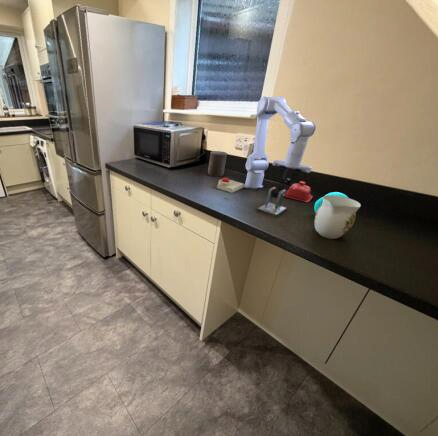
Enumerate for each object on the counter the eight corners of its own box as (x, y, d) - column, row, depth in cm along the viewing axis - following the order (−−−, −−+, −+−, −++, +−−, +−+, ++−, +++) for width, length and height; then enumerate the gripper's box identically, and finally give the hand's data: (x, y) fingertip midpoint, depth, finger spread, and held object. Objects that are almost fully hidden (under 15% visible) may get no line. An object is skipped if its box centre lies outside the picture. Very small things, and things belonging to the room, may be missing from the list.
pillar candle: (217, 178, 141) (221, 153, 134) (204, 174, 148) (207, 150, 141) (226, 175, 146) (230, 150, 139) (213, 171, 153) (217, 148, 146)
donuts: (309, 215, 98) (317, 193, 93) (318, 209, 104) (327, 188, 99) (337, 225, 91) (347, 202, 86) (345, 218, 97) (356, 195, 92)
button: (224, 180, 126) (224, 177, 126) (229, 181, 124) (230, 178, 123) (220, 181, 124) (220, 178, 124) (226, 183, 122) (226, 180, 121)
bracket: (267, 204, 108) (273, 184, 103) (285, 210, 102) (292, 189, 98) (257, 210, 102) (262, 189, 97) (275, 217, 97) (282, 195, 92)
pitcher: (353, 231, 87) (371, 197, 80) (336, 248, 77) (354, 211, 71) (320, 220, 95) (334, 188, 88) (301, 234, 85) (314, 199, 78)
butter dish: (312, 197, 115) (319, 181, 111) (307, 204, 108) (313, 187, 104) (287, 191, 122) (292, 176, 118) (280, 198, 115) (285, 181, 111)
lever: (284, 182, 104) (285, 176, 102) (291, 183, 102) (292, 177, 100) (270, 197, 100) (271, 191, 98) (278, 199, 98) (279, 193, 96)
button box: (227, 182, 133) (229, 176, 131) (243, 187, 127) (245, 180, 125) (215, 187, 126) (216, 180, 124) (231, 193, 120) (232, 185, 118)
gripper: (273, 151, 98) (265, 182, 105) (311, 158, 89) (300, 191, 95) (280, 149, 102) (272, 178, 109) (317, 155, 93) (306, 187, 99)
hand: (285, 184), depth 102 cm, fingers closed on lever, 3 cm apart
